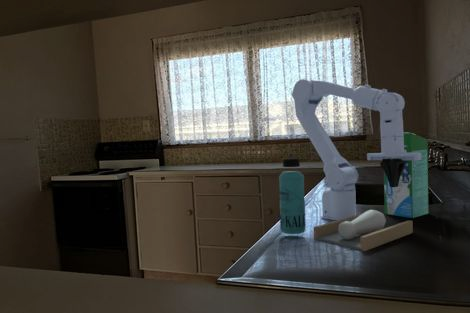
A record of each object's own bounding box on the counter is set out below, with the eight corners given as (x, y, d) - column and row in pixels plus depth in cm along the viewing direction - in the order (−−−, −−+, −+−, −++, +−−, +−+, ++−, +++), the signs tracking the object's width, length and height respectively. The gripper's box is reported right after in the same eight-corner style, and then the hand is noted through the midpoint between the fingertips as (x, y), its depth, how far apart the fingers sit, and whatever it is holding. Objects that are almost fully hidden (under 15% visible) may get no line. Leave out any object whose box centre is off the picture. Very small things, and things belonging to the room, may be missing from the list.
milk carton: (428, 213, 115) (427, 131, 114) (412, 218, 110) (410, 132, 109) (401, 209, 123) (399, 132, 121) (384, 213, 118) (382, 133, 116)
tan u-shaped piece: (314, 239, 93) (313, 226, 93) (363, 224, 106) (363, 213, 106) (364, 251, 82) (364, 237, 82) (412, 232, 95) (412, 220, 94)
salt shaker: (391, 230, 92) (355, 244, 85) (372, 230, 97) (337, 244, 90) (385, 207, 93) (349, 219, 86) (367, 208, 98) (331, 220, 91)
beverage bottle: (287, 232, 100) (284, 157, 99) (310, 235, 96) (308, 157, 95) (275, 238, 95) (272, 158, 94) (299, 241, 91) (297, 158, 90)
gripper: (426, 135, 99) (428, 186, 100) (375, 137, 111) (377, 183, 111) (412, 136, 95) (414, 189, 96) (362, 138, 106) (364, 186, 107)
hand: (394, 186), depth 103 cm, fingers closed
